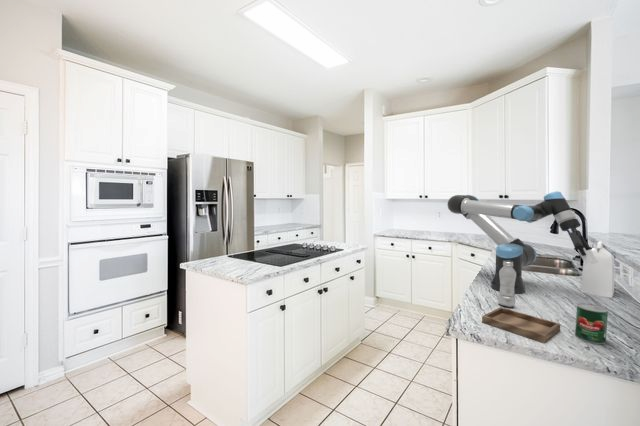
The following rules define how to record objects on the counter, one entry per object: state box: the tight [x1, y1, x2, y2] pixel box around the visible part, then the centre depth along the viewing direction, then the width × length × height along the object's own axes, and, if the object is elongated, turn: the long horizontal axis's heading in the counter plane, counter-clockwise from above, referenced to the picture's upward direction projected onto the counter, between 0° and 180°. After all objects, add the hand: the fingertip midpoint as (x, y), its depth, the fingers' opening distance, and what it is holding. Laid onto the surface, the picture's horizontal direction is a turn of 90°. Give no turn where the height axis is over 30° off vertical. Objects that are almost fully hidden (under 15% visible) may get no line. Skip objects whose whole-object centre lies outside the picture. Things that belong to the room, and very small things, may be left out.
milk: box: [580, 241, 615, 298], centre depth 151 cm, size 12×12×26 cm
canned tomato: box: [574, 302, 609, 345], centre depth 101 cm, size 8×8×11 cm
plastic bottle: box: [497, 261, 516, 308], centre depth 131 cm, size 6×7×20 cm
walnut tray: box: [481, 307, 561, 344], centre depth 110 cm, size 20×16×2 cm
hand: (592, 263), depth 135 cm, fingers open, 13 cm apart
